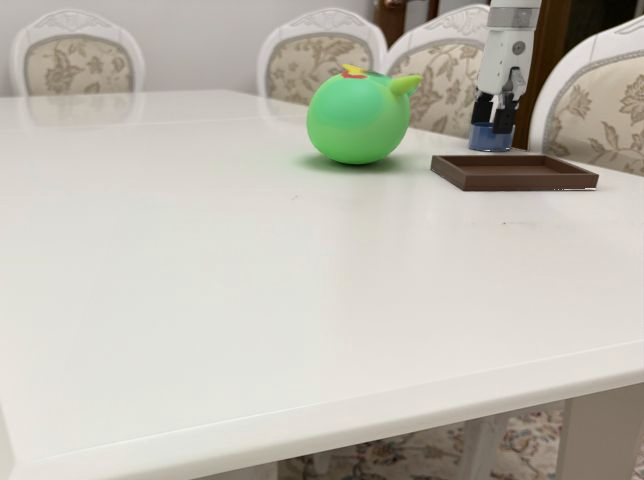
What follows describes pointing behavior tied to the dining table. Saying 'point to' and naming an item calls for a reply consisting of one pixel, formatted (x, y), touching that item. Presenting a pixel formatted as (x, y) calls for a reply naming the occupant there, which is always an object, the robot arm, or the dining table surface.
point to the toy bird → (360, 115)
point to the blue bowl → (489, 138)
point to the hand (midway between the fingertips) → (490, 129)
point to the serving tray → (512, 172)
